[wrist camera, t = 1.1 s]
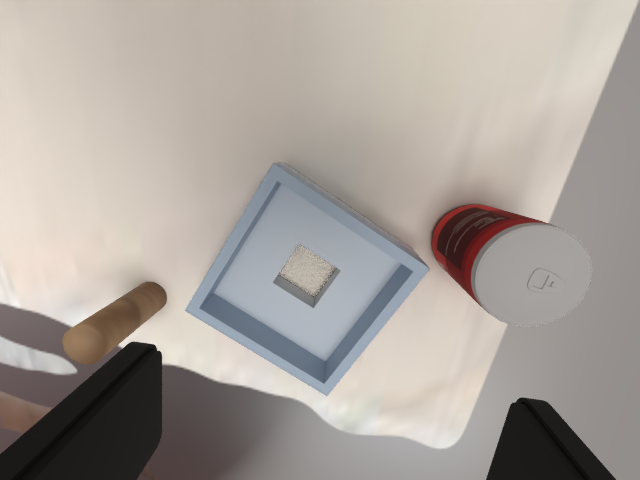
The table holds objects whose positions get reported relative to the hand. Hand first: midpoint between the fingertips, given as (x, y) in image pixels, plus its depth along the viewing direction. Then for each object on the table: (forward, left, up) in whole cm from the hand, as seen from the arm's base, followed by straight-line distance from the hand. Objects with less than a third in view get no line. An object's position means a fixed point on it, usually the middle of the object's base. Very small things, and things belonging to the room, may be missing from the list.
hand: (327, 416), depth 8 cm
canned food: (+12, +7, -25) cm, 29 cm away
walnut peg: (-13, -18, -25) cm, 34 cm away
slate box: (0, -5, -25) cm, 26 cm away
